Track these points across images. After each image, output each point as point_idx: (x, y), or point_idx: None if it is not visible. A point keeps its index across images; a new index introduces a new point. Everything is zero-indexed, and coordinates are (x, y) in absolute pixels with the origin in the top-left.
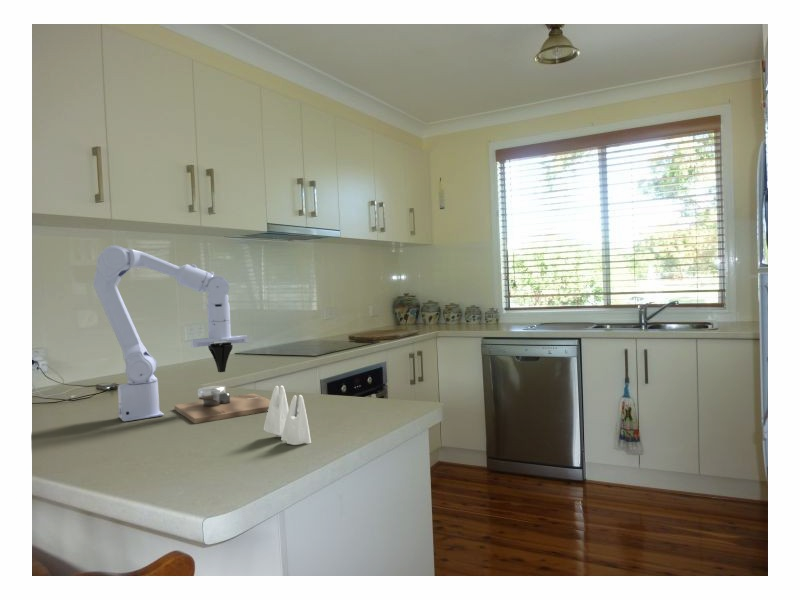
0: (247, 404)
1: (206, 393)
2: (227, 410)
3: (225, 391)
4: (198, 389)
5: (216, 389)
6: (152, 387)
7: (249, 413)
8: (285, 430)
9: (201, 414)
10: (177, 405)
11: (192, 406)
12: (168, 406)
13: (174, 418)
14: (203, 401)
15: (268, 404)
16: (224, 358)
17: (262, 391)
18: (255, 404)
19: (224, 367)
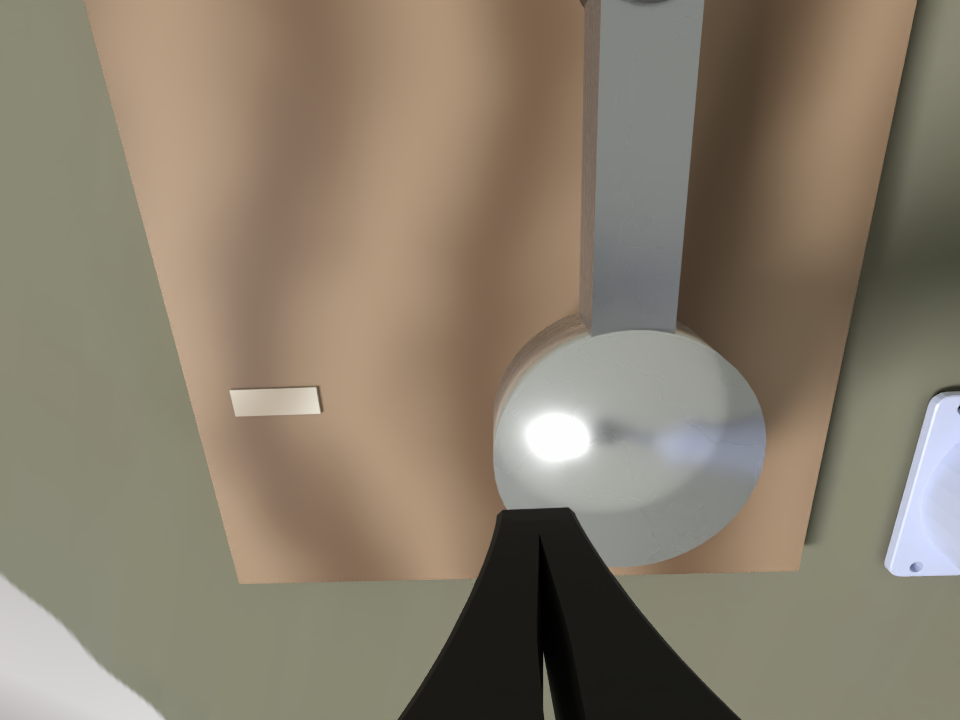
0: (360, 185)
1: (710, 346)
2: (576, 34)
3: (501, 398)
4: (752, 473)
5: (621, 335)
6: None
7: None
8: None
9: (816, 25)
10: (789, 543)
11: None
12: (768, 657)
13: (914, 257)
14: None
15: (188, 26)
16: (518, 658)
17: (172, 696)
18: (298, 127)
19: (512, 541)
